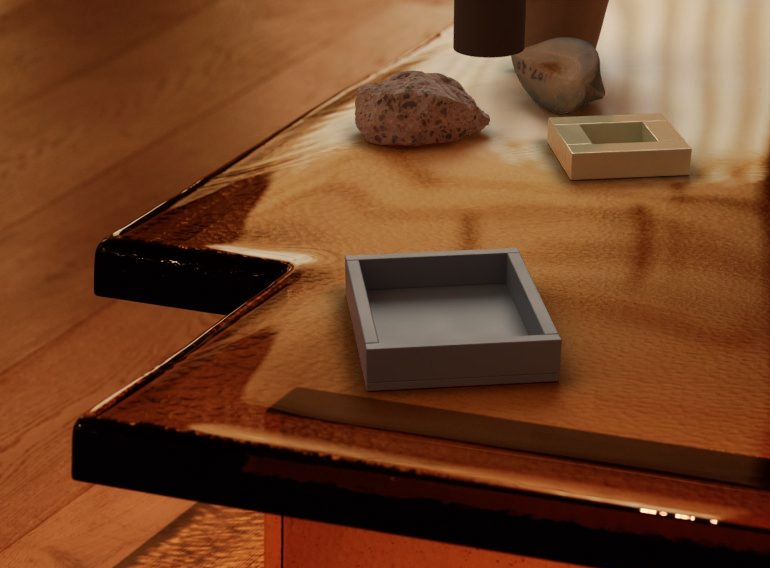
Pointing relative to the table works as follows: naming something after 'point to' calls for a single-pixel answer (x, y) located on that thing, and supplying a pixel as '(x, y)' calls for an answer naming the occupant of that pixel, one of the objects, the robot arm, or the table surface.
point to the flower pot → (564, 20)
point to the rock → (416, 110)
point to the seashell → (560, 73)
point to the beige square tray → (618, 146)
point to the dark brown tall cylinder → (489, 27)
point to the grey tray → (449, 320)
